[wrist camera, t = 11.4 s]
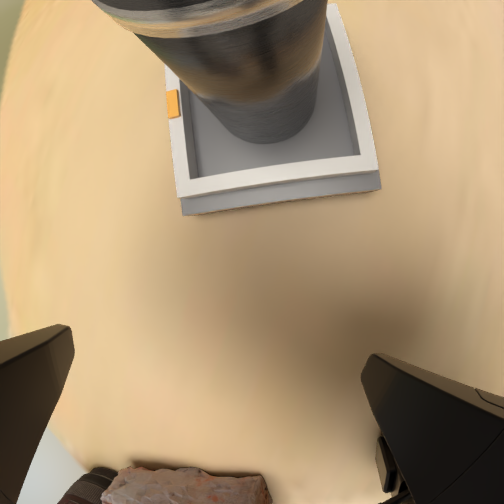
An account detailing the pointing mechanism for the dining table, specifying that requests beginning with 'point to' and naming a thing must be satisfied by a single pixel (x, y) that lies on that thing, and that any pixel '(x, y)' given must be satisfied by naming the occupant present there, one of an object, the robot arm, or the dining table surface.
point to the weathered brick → (183, 488)
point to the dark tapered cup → (237, 56)
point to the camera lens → (89, 487)
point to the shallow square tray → (277, 154)
